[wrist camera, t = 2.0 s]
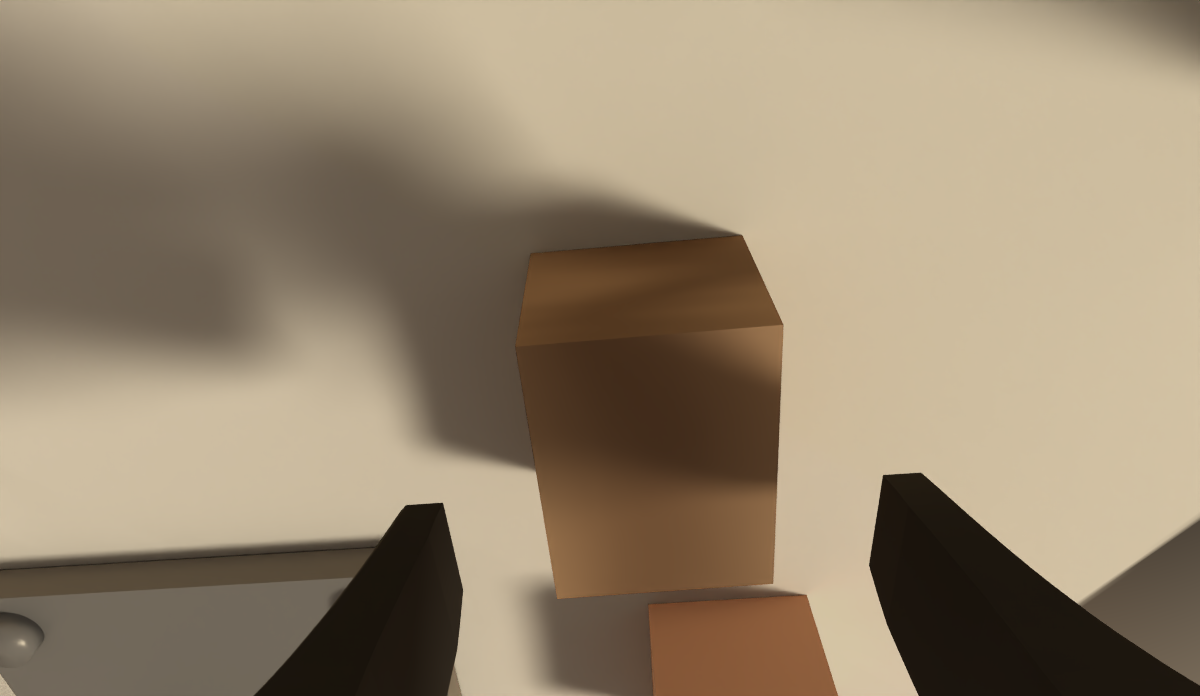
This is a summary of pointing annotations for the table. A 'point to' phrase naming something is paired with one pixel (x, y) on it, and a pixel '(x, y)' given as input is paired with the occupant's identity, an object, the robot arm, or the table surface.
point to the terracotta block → (738, 648)
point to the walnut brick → (653, 414)
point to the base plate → (166, 623)
